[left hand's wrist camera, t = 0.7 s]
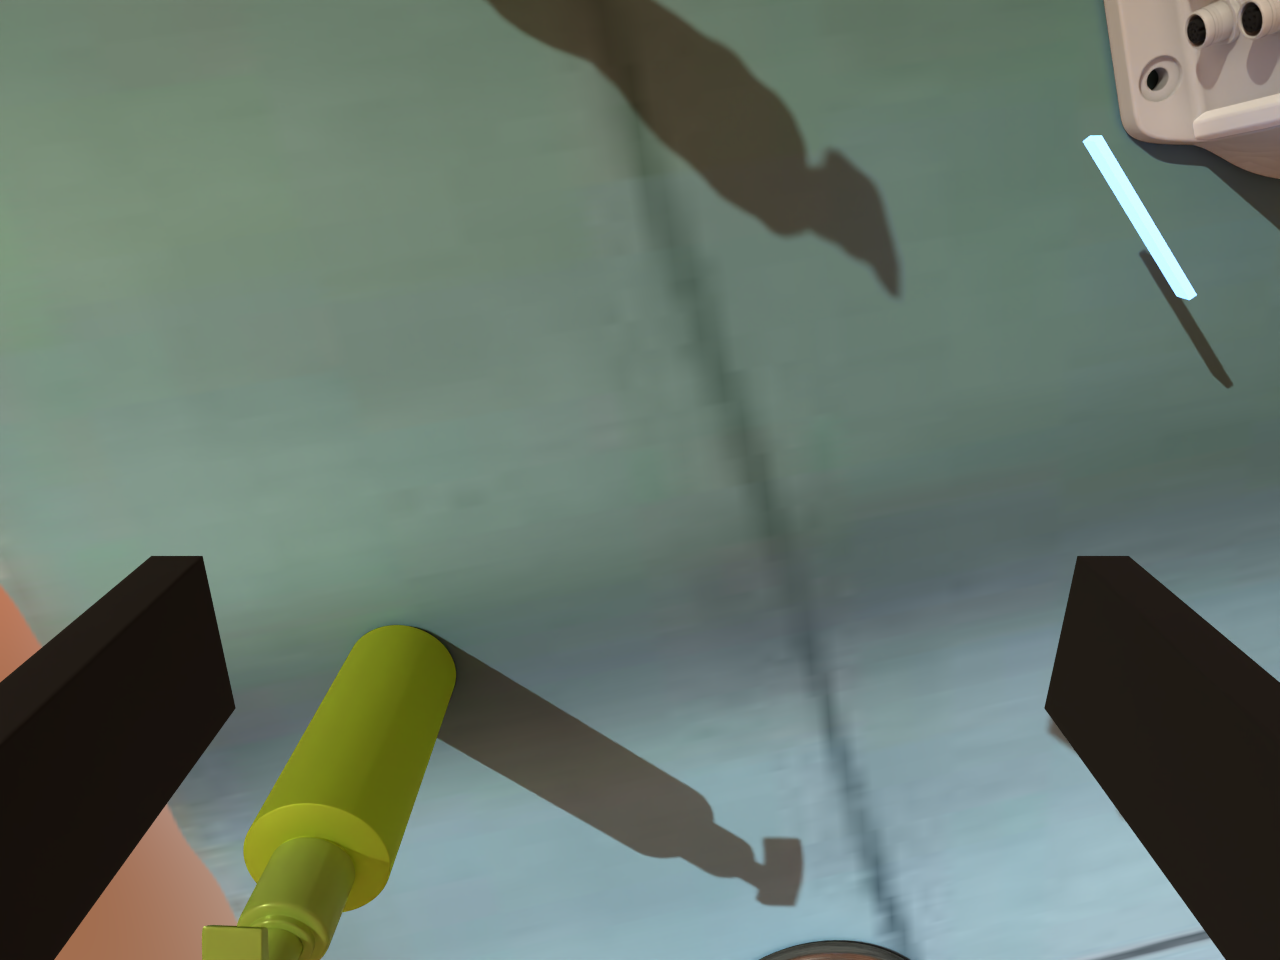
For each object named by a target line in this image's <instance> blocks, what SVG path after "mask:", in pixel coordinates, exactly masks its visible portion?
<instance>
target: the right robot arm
mask: <svg viewBox="0 0 1280 960" xmlns="http://www.w3.org/2000/svg"><path fill="white" fill-rule="evenodd" d="M1104 7H1105V14H1106V21H1107V27H1108V34H1109V41H1110V48H1111V55H1112V62H1113V69H1114V75H1115V82H1116V89H1117V96H1118V103H1119V110H1120V116H1121V121H1122V124H1123V127H1124V129H1125V130H1126V132H1127V133H1128V134H1129V135H1130V136H1131V137H1133V138H1135V139H1137V140H1140V141H1144V142H1149V143H1157V144H1175V145H1195V146H1198V147H1201V148H1204V149H1206V150H1208V151H1210V152H1212V153H1214V154H1216V155H1217V156H1219V157H1221V158H1223V159H1224V160H1226V161H1228V162H1230V163H1232V164H1233V165H1235V166H1237V167H1240V168H1242V169H1244V170H1246V171H1249V172H1252V173H1255V174H1258V175H1262V176H1266V177H1271V178H1277V179H1280V0H1104ZM1152 70H1155V71H1156V72H1157V74H1158V83H1157V85H1156V86H1155V88H1154V89H1152V90H1150V89H1149V88H1148V86H1147V78H1148V75H1149V74H1150V72H1151V71H1152ZM1083 143H1084V144H1085V146H1086V148H1087V149H1088V151H1089V152H1090V154H1091V156H1092V157H1093V159H1094V161H1095V162H1096V164H1097V166H1098V167H1099V169H1100V171H1101V172H1102V174H1103V176H1104V177H1105V179H1106V181H1107V182H1108V184H1109V185H1110V187H1111V189H1112V190H1113V192H1114V194H1115V195H1116V197H1117V199H1118V200H1119V202H1120V204H1121V205H1122V207H1123V209H1124V210H1125V212H1126V214H1127V215H1128V217H1129V218H1130V220H1131V222H1132V223H1133V225H1134V227H1135V228H1136V230H1137V232H1138V233H1139V235H1140V237H1141V238H1142V240H1143V242H1144V243H1145V245H1146V246H1147V248H1148V250H1149V251H1150V253H1151V255H1152V256H1153V258H1154V260H1155V261H1156V263H1157V265H1158V266H1159V268H1160V270H1161V271H1162V273H1163V275H1164V276H1165V278H1166V279H1167V281H1168V283H1169V284H1170V286H1171V288H1172V289H1173V291H1174V293H1175V294H1176V296H1177V297H1181V298H1184V299H1188V300H1190V299H1192V298H1193V297H1194V296H1196V295H1197V294H1196V293H1195V291H1194V289H1193V288H1192V286H1191V284H1190V283H1189V281H1188V279H1187V278H1186V276H1185V274H1184V273H1183V271H1182V269H1181V268H1180V266H1179V264H1178V263H1177V261H1176V259H1175V258H1174V256H1173V254H1172V253H1171V251H1170V249H1169V248H1168V246H1167V244H1166V243H1165V241H1164V239H1163V237H1162V236H1161V234H1160V232H1159V231H1158V229H1157V227H1156V226H1155V224H1154V222H1153V221H1152V219H1151V217H1150V216H1149V214H1148V212H1147V211H1146V209H1145V207H1144V206H1143V204H1142V202H1141V201H1140V199H1139V197H1138V196H1137V194H1136V192H1135V191H1134V189H1133V187H1132V186H1131V184H1130V182H1129V181H1128V179H1127V177H1126V176H1125V174H1124V172H1123V171H1122V169H1121V167H1120V165H1119V164H1118V162H1117V160H1116V159H1115V157H1114V155H1113V154H1112V152H1111V150H1110V149H1109V147H1108V145H1107V144H1106V142H1105V140H1104V139H1103V137H1102V136H1089V137H1088V138H1087V139H1085V140H1084V141H1083Z"/></svg>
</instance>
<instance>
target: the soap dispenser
mask: <svg viewBox="0 0 1280 960" xmlns="http://www.w3.org/2000/svg"><path fill="white" fill-rule="evenodd" d="M455 681H456V669H455V665H454V661H453V659H452V657H451V655H450V653H449V652H448V650H447V649H446V648H445V646H444V645H443V644H442V643H441V642H440V641H439V640H437V639H436V638H435V637H433V636H432V635H430V634H429V633H427V632H425V631H422V630H420V629H417V628H414V627H410V626H403V625H390V626H384V627H380V628H377V629H374V630H372V631H370V632H368V633H367V634H365V635H364V636H362V637H361V638H360V639H359V640H358V641H357V642H356V644H355V645H354V647H353V648H352V650H351V652H350V654H349V655H348V657H347V659H346V661H345V662H344V664H343V666H342V668H341V669H340V671H339V673H338V675H337V676H336V678H335V680H334V682H333V683H332V685H331V687H330V689H329V690H328V692H327V694H326V696H325V697H324V699H323V701H322V703H321V704H320V706H319V708H318V710H317V711H316V713H315V715H314V717H313V719H312V720H311V722H310V724H309V726H308V727H307V729H306V731H305V733H304V734H303V736H302V738H301V740H300V741H299V743H298V745H297V747H296V748H295V750H294V752H293V754H292V755H291V757H290V759H289V761H288V762H287V764H286V766H285V768H284V769H283V771H282V773H281V775H280V776H279V778H278V780H277V782H276V783H275V785H274V787H273V789H272V790H271V792H270V794H269V796H268V797H267V799H266V801H265V803H264V804H263V806H262V808H261V810H260V811H259V813H258V815H257V817H256V819H255V820H254V822H253V824H252V826H251V827H250V829H249V831H248V833H247V835H246V838H245V842H244V860H245V863H246V866H247V869H248V871H249V873H250V875H251V876H252V878H253V879H254V880H255V882H256V883H257V885H256V887H255V889H254V891H253V893H252V895H251V897H250V899H249V901H248V902H247V904H246V906H245V908H244V910H243V912H242V914H241V916H240V918H239V921H238V924H237V926H222V925H208V926H205V927H204V928H203V931H202V960H320V959H321V958H322V957H323V956H324V954H325V953H326V951H327V950H328V947H329V945H330V943H331V940H332V938H333V935H334V932H335V930H336V927H337V925H338V922H339V920H340V917H341V914H342V912H346V911H350V910H354V909H357V908H359V907H361V906H363V905H365V904H367V903H369V902H370V901H372V900H373V899H374V898H375V897H377V896H378V895H379V893H380V892H381V891H382V890H383V888H384V887H385V885H386V883H387V881H388V878H389V876H390V873H391V870H392V867H393V864H394V861H395V858H396V855H397V852H398V849H399V846H400V844H401V841H402V838H403V835H404V832H405V829H406V826H407V823H408V820H409V817H410V814H411V811H412V808H413V806H414V803H415V800H416V797H417V794H418V791H419V788H420V785H421V782H422V779H423V776H424V773H425V771H426V768H427V765H428V762H429V759H430V756H431V753H432V750H433V747H434V744H435V741H436V738H437V735H438V733H439V730H440V727H441V724H442V721H443V718H444V715H445V712H446V709H447V706H448V703H449V700H450V697H451V695H452V692H453V689H454V686H455Z"/></svg>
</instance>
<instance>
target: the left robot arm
mask: <svg viewBox="0 0 1280 960" xmlns="http://www.w3.org/2000/svg"><path fill="white" fill-rule="evenodd" d="M234 710H235V704H234V699H233V695H232V690H231V685H230V681H229V676H228V672H227V667H226V662H225V658H224V653H223V648H222V644H221V639H220V635H219V630H218V625H217V621H216V616H215V612H214V607H213V602H212V598H211V593H210V589H209V584H208V579H207V575H206V570H205V565H204V561H203V556H151V557H150V558H149V559H147V560H146V561H145V562H144V563H143V564H141V565H140V566H139V567H138V568H137V569H135V570H134V571H133V572H132V573H131V574H129V575H128V576H127V577H126V578H125V579H123V580H122V581H121V582H120V583H119V584H117V585H116V586H115V587H114V588H113V589H112V590H110V591H109V592H108V593H107V594H106V595H104V596H103V597H102V598H101V599H100V600H98V601H97V602H96V603H95V604H94V605H92V606H91V607H90V608H89V609H88V610H86V611H85V612H84V613H83V614H82V615H80V616H79V617H78V618H77V619H76V620H74V621H73V622H72V623H71V624H70V625H69V626H67V627H66V628H65V629H64V630H63V631H61V632H60V633H59V634H58V635H57V636H55V637H54V638H53V639H52V640H51V641H49V642H48V643H47V644H46V645H45V646H43V647H42V648H41V649H40V650H39V651H37V652H36V653H35V654H34V655H33V656H31V657H30V658H29V659H28V660H27V661H25V662H24V663H23V664H22V665H21V666H20V667H18V668H17V669H16V670H15V671H14V672H12V673H11V674H10V675H9V676H8V677H6V678H5V679H4V680H3V681H2V682H0V960H54V959H55V958H56V956H57V955H58V954H59V952H60V951H61V950H62V948H63V947H64V945H65V944H66V943H67V941H68V940H69V938H70V937H71V936H72V934H73V933H74V931H75V930H76V929H77V927H78V926H79V925H80V923H81V922H82V920H83V919H84V918H85V916H86V915H87V913H88V912H89V911H90V909H91V908H92V906H93V905H94V904H95V902H96V901H97V900H98V898H99V897H100V895H101V894H102V893H103V891H104V890H105V888H106V887H107V886H108V884H109V883H110V882H111V880H112V879H113V877H114V876H115V875H116V873H117V872H118V870H119V869H120V868H121V866H122V865H123V864H124V862H125V861H126V859H127V858H128V857H129V855H130V854H131V852H132V851H133V850H134V848H135V847H136V845H137V844H138V843H139V841H140V840H141V838H142V837H143V836H144V834H145V833H146V832H147V830H148V829H149V827H150V826H151V825H152V823H153V822H154V821H155V819H156V818H157V816H158V815H159V814H160V812H161V811H162V809H163V808H164V807H165V805H166V804H167V802H168V801H169V800H170V798H171V797H172V796H173V794H174V793H175V791H176V790H177V789H178V787H179V786H180V784H181V783H182V782H183V780H184V779H185V778H186V776H187V775H188V773H189V772H190V771H191V769H192V768H193V766H194V765H195V764H196V762H197V761H198V759H199V758H200V757H201V755H202V754H203V753H204V751H205V750H206V748H207V747H208V746H209V744H210V743H211V741H212V740H213V739H214V737H215V736H216V735H217V733H218V732H219V730H220V729H221V728H222V726H223V725H224V723H225V722H226V721H227V719H228V718H229V716H230V715H231V714H232V712H233V711H234ZM1045 710H1046V711H1047V712H1048V714H1049V715H1050V716H1051V718H1052V719H1053V721H1054V722H1055V723H1056V725H1057V726H1058V728H1059V729H1060V730H1061V732H1062V733H1063V735H1064V736H1065V737H1066V739H1067V740H1068V741H1069V743H1070V744H1071V746H1072V747H1073V748H1074V750H1075V751H1076V753H1077V754H1078V755H1079V757H1080V758H1081V759H1082V761H1083V762H1084V764H1085V765H1086V766H1087V768H1088V769H1089V771H1090V772H1091V773H1092V775H1093V776H1094V778H1095V779H1096V780H1097V782H1098V783H1099V784H1100V786H1101V787H1102V789H1103V790H1104V791H1105V793H1106V794H1107V796H1108V797H1109V798H1110V800H1111V801H1112V802H1113V804H1114V805H1115V807H1116V808H1117V809H1118V811H1119V812H1120V814H1121V815H1122V816H1123V818H1124V819H1125V821H1126V822H1127V823H1128V825H1129V826H1130V827H1131V829H1132V830H1133V832H1134V833H1135V834H1136V836H1137V837H1138V839H1139V840H1140V841H1141V843H1142V844H1143V845H1144V847H1145V848H1146V850H1147V851H1148V852H1149V854H1150V855H1151V857H1152V858H1153V859H1154V861H1155V862H1156V864H1157V865H1158V866H1159V868H1160V869H1161V870H1162V872H1163V873H1164V875H1165V876H1166V877H1167V879H1168V880H1169V882H1170V883H1171V884H1172V886H1173V887H1174V888H1175V890H1176V891H1177V893H1178V894H1179V895H1180V897H1181V898H1182V900H1183V901H1184V902H1185V904H1186V905H1187V907H1188V908H1189V909H1190V911H1191V912H1192V913H1193V915H1194V916H1195V918H1196V919H1197V920H1198V922H1199V923H1200V925H1201V926H1202V927H1203V929H1204V930H1205V931H1206V933H1207V934H1208V936H1209V937H1210V938H1211V940H1212V941H1213V943H1214V944H1215V945H1216V947H1217V948H1218V950H1219V951H1220V952H1221V954H1222V955H1223V956H1224V958H1225V959H1226V960H1280V682H1278V681H1277V680H1276V679H1275V678H1274V677H1272V676H1271V675H1270V674H1269V673H1268V672H1266V671H1265V670H1264V669H1263V668H1262V667H1260V666H1259V665H1258V664H1257V663H1256V662H1255V661H1253V660H1252V659H1251V658H1250V657H1249V656H1247V655H1246V654H1245V653H1244V652H1243V651H1241V650H1240V649H1239V648H1238V647H1237V646H1235V645H1234V644H1233V643H1232V642H1231V641H1229V640H1228V639H1227V638H1226V637H1225V636H1223V635H1222V634H1221V633H1220V632H1219V631H1217V630H1216V629H1215V628H1214V627H1213V626H1212V625H1210V624H1209V623H1208V622H1207V621H1206V620H1204V619H1203V618H1202V617H1201V616H1200V615H1198V614H1197V613H1196V612H1195V611H1194V610H1192V609H1191V608H1190V607H1189V606H1188V605H1186V604H1185V603H1184V602H1183V601H1182V600H1180V599H1179V598H1178V597H1177V596H1176V595H1174V594H1173V593H1172V592H1171V591H1170V590H1168V589H1167V588H1166V587H1165V586H1164V585H1163V584H1161V583H1160V582H1159V581H1158V580H1157V579H1155V578H1154V577H1153V576H1152V575H1151V574H1149V573H1148V572H1147V571H1146V570H1145V569H1143V568H1142V567H1141V566H1140V565H1139V564H1137V563H1136V562H1135V561H1134V560H1133V559H1131V558H1130V557H1129V556H1077V561H1076V565H1075V570H1074V575H1073V579H1072V584H1071V589H1070V593H1069V598H1068V602H1067V607H1066V612H1065V616H1064V621H1063V625H1062V630H1061V635H1060V639H1059V644H1058V648H1057V653H1056V658H1055V662H1054V667H1053V672H1052V676H1051V681H1050V685H1049V690H1048V695H1047V699H1046V704H1045ZM759 960H905V959H903V958H901V957H899V956H898V955H895V954H893V953H891V952H889V951H886V950H883V949H880V948H877V947H874V946H870V945H865V944H860V943H852V942H836V941H830V942H816V943H808V944H803V945H797V946H794V947H790V948H786V949H783V950H780V951H777V952H775V953H772V954H770V955H768V956H765V957H763V958H761V959H759Z"/></svg>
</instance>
